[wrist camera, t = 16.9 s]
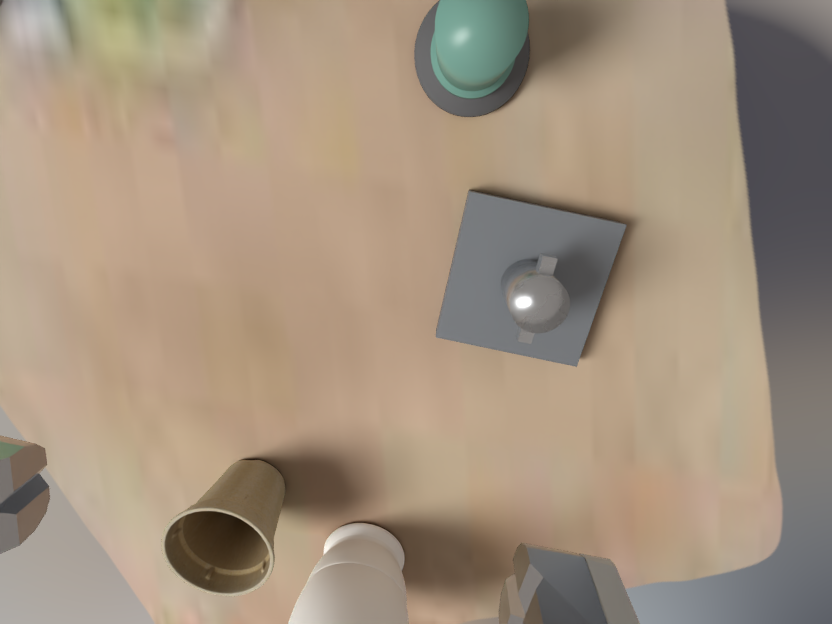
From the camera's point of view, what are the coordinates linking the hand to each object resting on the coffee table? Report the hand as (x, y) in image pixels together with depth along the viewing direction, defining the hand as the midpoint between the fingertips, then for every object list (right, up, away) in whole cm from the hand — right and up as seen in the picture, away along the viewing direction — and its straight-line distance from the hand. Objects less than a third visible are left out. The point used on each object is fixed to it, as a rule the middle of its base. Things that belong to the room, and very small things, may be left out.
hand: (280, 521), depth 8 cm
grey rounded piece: (+11, +6, +29) cm, 31 cm away
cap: (+6, +22, +24) cm, 33 cm away
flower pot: (-14, -13, +39) cm, 43 cm away
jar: (-3, -21, +41) cm, 46 cm away
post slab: (+11, +6, +30) cm, 33 cm away
